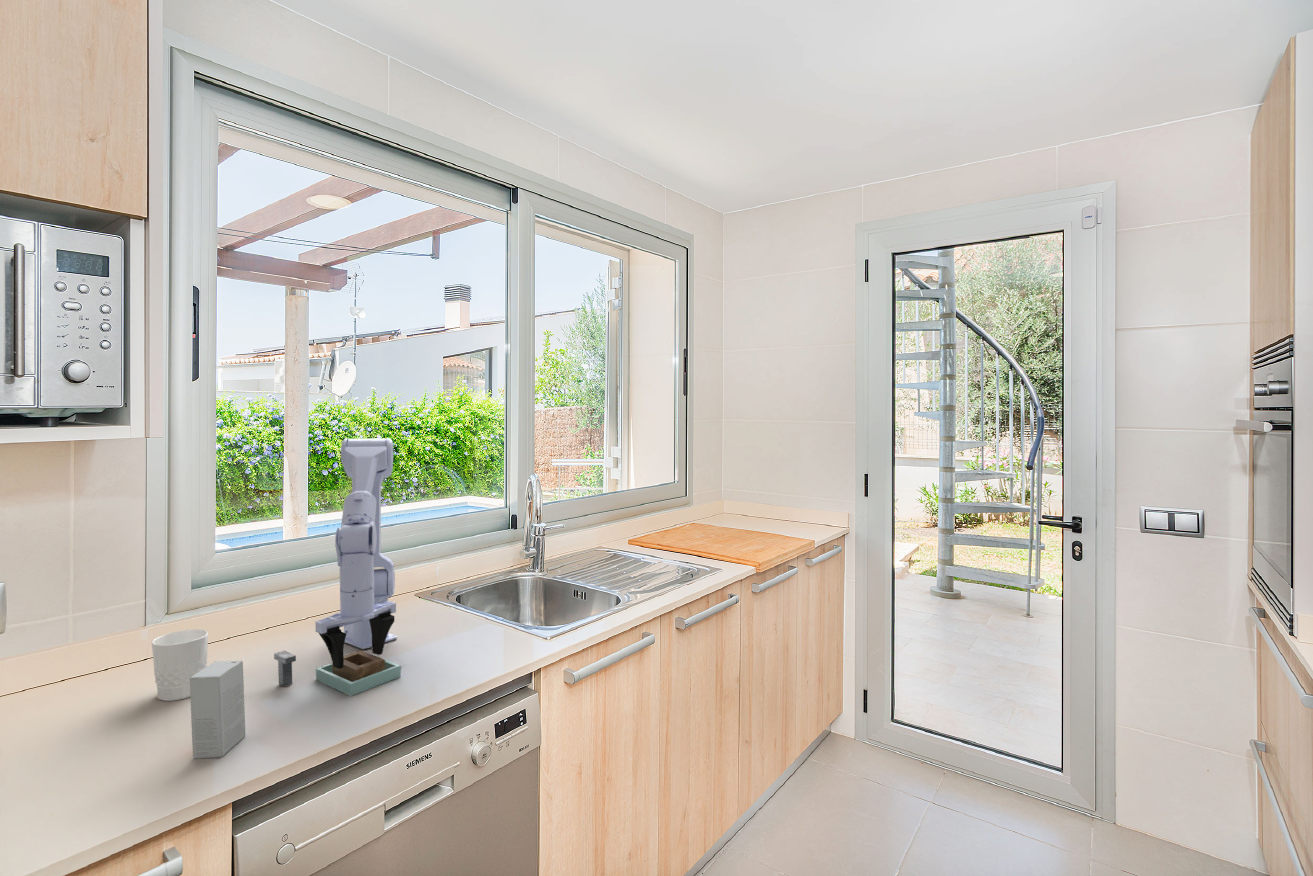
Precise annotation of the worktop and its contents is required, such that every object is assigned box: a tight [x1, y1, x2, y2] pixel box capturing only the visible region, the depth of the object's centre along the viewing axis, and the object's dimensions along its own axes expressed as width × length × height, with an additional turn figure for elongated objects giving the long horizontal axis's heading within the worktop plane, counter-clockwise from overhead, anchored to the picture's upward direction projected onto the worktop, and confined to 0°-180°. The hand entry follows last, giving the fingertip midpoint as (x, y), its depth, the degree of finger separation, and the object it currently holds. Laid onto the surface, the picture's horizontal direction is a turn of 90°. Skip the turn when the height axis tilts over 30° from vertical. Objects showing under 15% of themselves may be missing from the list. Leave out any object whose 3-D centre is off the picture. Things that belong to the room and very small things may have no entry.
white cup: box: [151, 628, 209, 702], centre depth 109 cm, size 8×8×10 cm
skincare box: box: [189, 660, 247, 759], centre depth 91 cm, size 6×4×12 cm
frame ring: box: [331, 649, 386, 682], centre depth 116 cm, size 6×8×3 cm
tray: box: [315, 652, 402, 697], centre depth 116 cm, size 12×10×2 cm
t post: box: [273, 650, 297, 688], centre depth 113 cm, size 4×2×6 cm, turn 56°
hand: (358, 660), depth 116 cm, fingers open, 7 cm apart
